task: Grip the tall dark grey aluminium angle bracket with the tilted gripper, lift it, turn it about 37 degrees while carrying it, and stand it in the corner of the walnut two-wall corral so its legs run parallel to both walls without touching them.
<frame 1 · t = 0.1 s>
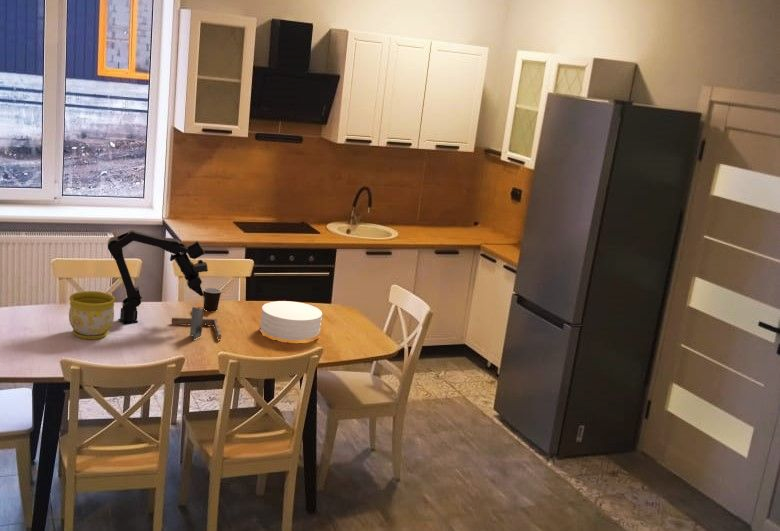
hand: (201, 292, 365), 15 cm above the table, tool tilted 35°, fingers open, 9 cm apart
bracket: (192, 337, 349), on the table
plate stack: (289, 333, 373), on the table
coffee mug: (211, 309, 391), on the table
flowerpot: (90, 334, 336), on the table
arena: (202, 329, 361), on the table
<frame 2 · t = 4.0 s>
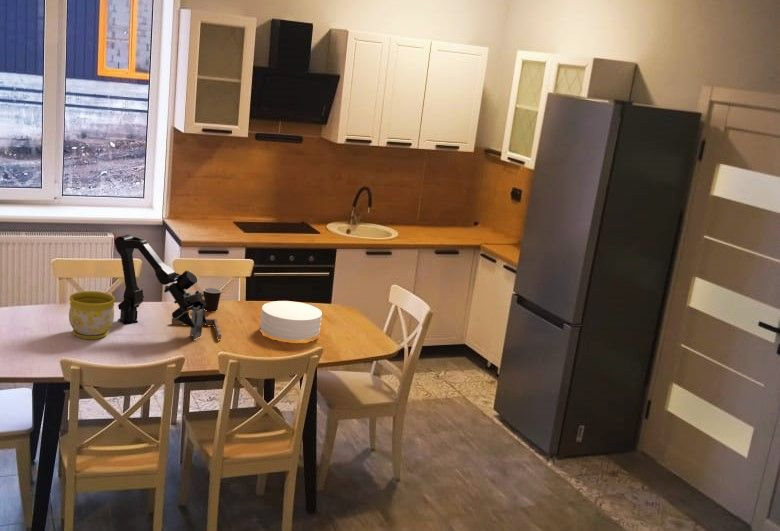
hand: (199, 324, 347), 7 cm above the table, tool tilted 45°, fingers open, 9 cm apart
bracket: (192, 337, 349), on the table, touching gripper
everything else where it was.
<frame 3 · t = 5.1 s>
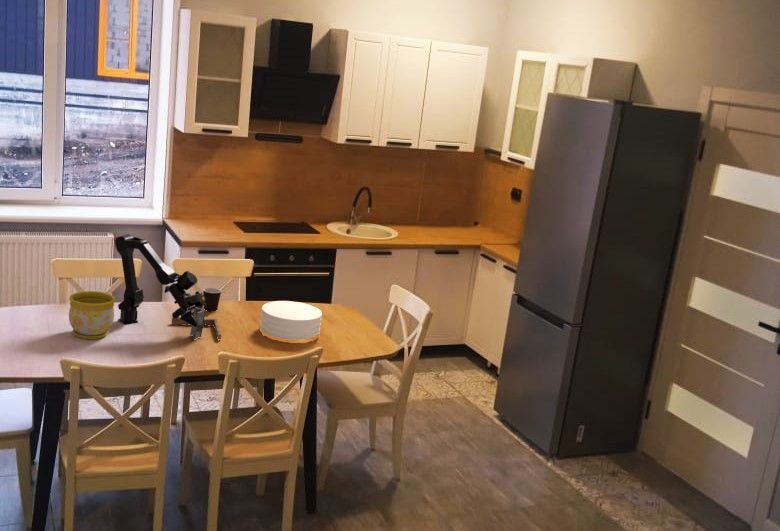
hand: (199, 325, 347), 7 cm above the table, tool tilted 45°, fingers closed on bracket, 5 cm apart
bracket: (192, 337, 349), on the table, touching gripper
everything else where it was.
when the fingers open (8 cm above the table, at t = 9.3 s): bracket drops 2 cm, on the table.
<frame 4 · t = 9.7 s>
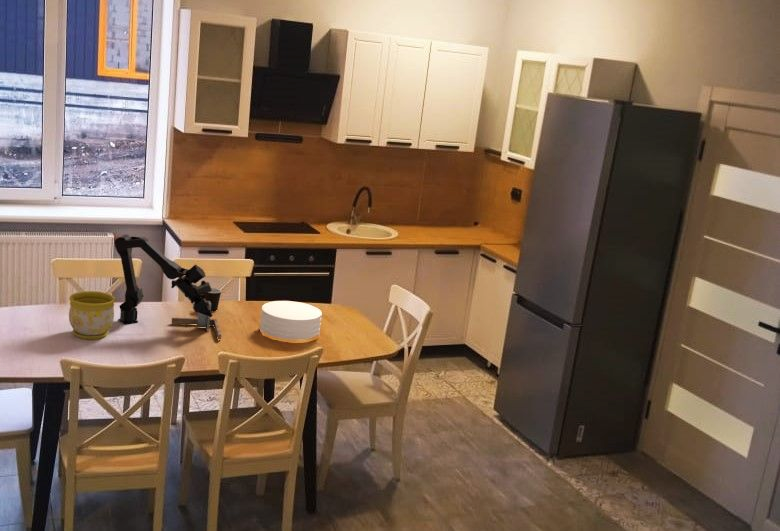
hand: (210, 313, 360), 8 cm above the table, tool tilted 45°, fingers open, 9 cm apart
bracket: (202, 329, 361), on the table
everything else where it was.
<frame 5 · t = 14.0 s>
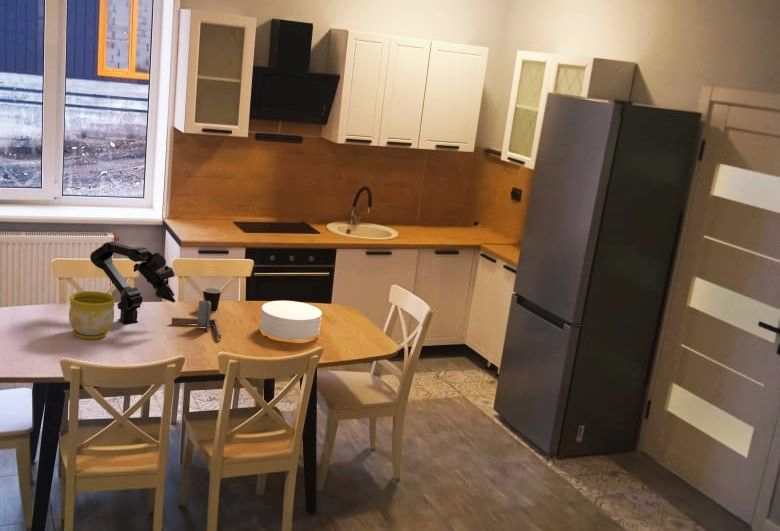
hand: (174, 298, 355), 14 cm above the table, tool tilted 45°, fingers open, 9 cm apart
nothing on the table moved.
at the end: bracket 0.1 cm off-centre on the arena, point 0.0 cm above the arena's base; bracket tilted 0°; bracket touching table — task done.
